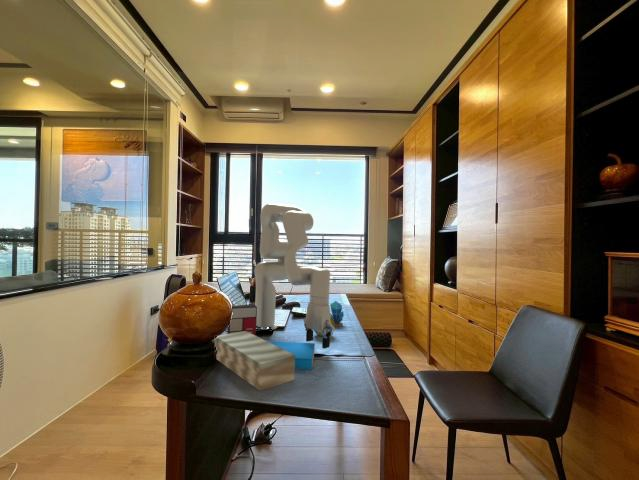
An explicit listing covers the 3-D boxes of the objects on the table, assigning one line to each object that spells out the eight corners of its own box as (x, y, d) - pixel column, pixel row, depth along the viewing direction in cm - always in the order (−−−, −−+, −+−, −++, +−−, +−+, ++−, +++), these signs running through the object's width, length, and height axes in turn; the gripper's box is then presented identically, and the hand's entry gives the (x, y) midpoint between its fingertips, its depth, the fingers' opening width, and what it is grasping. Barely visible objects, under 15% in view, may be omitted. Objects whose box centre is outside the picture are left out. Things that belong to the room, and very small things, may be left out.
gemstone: (325, 323, 165) (326, 300, 165) (342, 323, 166) (343, 300, 166) (327, 327, 158) (328, 302, 158) (345, 327, 159) (346, 303, 159)
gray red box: (228, 346, 124) (229, 308, 124) (226, 342, 128) (228, 305, 128) (256, 343, 129) (257, 306, 129) (253, 340, 133) (255, 304, 133)
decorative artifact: (312, 336, 141) (313, 313, 141) (311, 331, 148) (311, 310, 148) (334, 336, 142) (335, 314, 143) (332, 332, 149) (333, 310, 150)
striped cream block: (214, 357, 112) (214, 336, 112) (244, 350, 120) (245, 330, 120) (259, 390, 89) (260, 364, 89) (294, 379, 97) (295, 355, 97)
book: (249, 340, 122) (314, 342, 122) (249, 351, 122) (314, 353, 122) (237, 356, 105) (312, 358, 104) (236, 369, 105) (312, 371, 104)
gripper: (298, 297, 128) (296, 340, 128) (327, 305, 115) (325, 352, 115) (312, 295, 133) (310, 336, 133) (341, 303, 120) (339, 348, 120)
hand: (317, 344), depth 124 cm, fingers open, 9 cm apart
